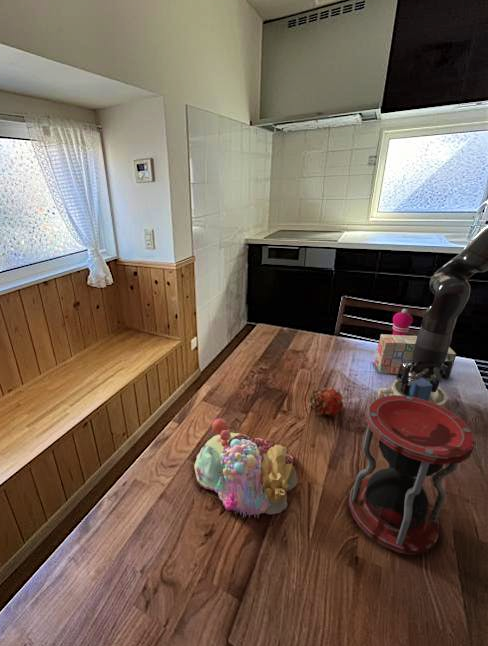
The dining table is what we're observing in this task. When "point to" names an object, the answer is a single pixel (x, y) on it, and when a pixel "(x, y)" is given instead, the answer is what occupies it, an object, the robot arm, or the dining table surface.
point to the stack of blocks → (399, 353)
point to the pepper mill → (401, 322)
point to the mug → (435, 397)
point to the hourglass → (407, 471)
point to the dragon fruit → (326, 402)
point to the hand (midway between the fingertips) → (418, 392)
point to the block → (420, 389)
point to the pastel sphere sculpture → (245, 471)
